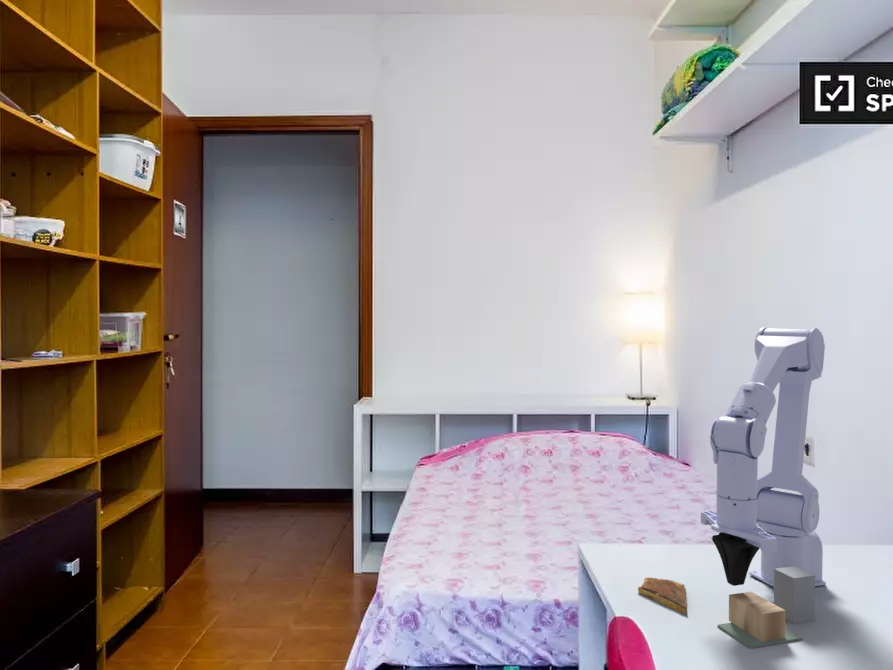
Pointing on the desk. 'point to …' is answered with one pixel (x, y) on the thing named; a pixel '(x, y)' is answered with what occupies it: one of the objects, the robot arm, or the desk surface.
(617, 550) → the desk surface
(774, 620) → the oak block
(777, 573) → the grey block
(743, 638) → the mat
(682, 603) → the shard
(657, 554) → the desk surface
